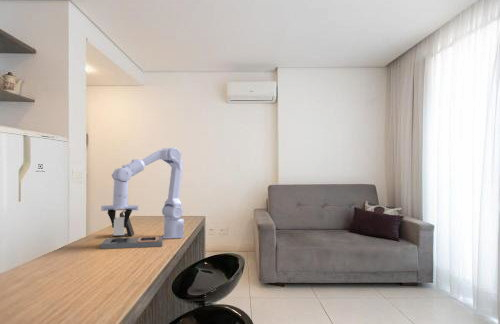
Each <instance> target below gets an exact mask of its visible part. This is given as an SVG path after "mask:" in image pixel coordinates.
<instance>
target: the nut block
mask: <svg viewBox="0 0 500 324" xmlns="http://www.w3.org/2000/svg"><path fill="white" fill-rule="evenodd" d="M124 222H125V217H120V216H119V217H118V216H115V218H114V228H113V229H112V230H113V234H112V235H124V234H125V233H126V228H124Z"/></svg>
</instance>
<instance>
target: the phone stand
mask: <svg viewBox="0 0 500 324" xmlns="http://www.w3.org/2000/svg"><path fill="white" fill-rule="evenodd" d="M119 217H125V210H122V211H121V212H119ZM125 231H126V232H125V234H124V235H113V234H112V236H111V237H112V238H132V237H133V236H134V235H135V231H134V228H133V226H132V222H131V220H130V218H129V219H128V222H127V227H126V228H125Z"/></svg>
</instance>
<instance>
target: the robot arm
mask: <svg viewBox="0 0 500 324" xmlns="http://www.w3.org/2000/svg"><path fill="white" fill-rule="evenodd" d="M159 160H161V161H164V162H166V164H168V165H169V166H170V167H171V170H170V177H169V178H170V179H169V187H168V195H167V199H166V200H165V201H164V205H163V207H162V209H161V213H162V215H163V216H164V227H163V228H164V229H163V234H162V237H163V239H183V238H184V234H185V230H184V228H185V227H184V225H185V222H184V221H185V220H184V218H181V217H182V216H183V213H184V210H183V207H182V206H183V205H182V202H181V200H180V195H181V187H182V177H183V169H184V162H183V158H182V152H181V151H180V150H179V148H178V147H175V146H174V147H164V148H161V149H158V150H156V151H155V152H152V153H151V154H149V155H148V156H146V157H144V158H142V159H131V161H130V162H129V163H127V164H122V166H121V167H118V168H115V170H114V171H113V172H112V174H111V177H112V179H113V180H114V181H113V197H112V198H113V199H112V205H102V206H100V207H101V208H100V211H101V212H104V211H107V215H108V217H109V219H110V223H111V228H112V229H114V218H115V217H116V214H117V213H116V211H124V212H125V213H124V216H125V222H124V228H125V229H126V227H127V222H128V219H130V216H131V214H132V212H133V211H139V205H135V204H134V205H131V204H129V205H128V200H129V181H130V180H131V178H132V177H133V176H136V175H138V174H139V173H141V172H143V171H144V170H145V167H146V166H149V165H150V164H153V163H155V162H157V161H159Z"/></svg>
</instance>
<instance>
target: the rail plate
mask: <svg viewBox="0 0 500 324" xmlns="http://www.w3.org/2000/svg"><path fill="white" fill-rule="evenodd" d="M163 241H164V240H163V236H139V237H112V238H109V237H108V238H105V239H104V240H103V241H102V242H101V243H100V250H108V249H129V248H131V249H133V248H135V249H136V248H152V247H153V248H155V247H157V248H158V247H163Z"/></svg>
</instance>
